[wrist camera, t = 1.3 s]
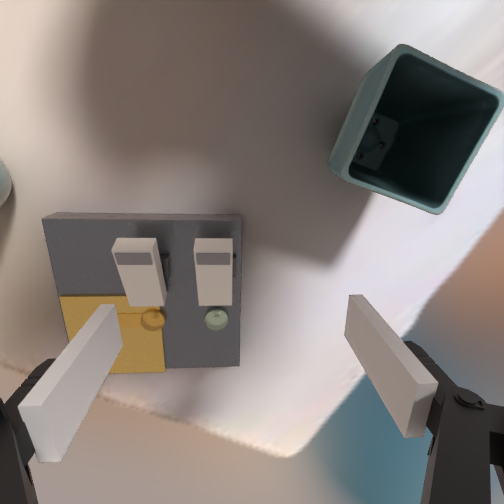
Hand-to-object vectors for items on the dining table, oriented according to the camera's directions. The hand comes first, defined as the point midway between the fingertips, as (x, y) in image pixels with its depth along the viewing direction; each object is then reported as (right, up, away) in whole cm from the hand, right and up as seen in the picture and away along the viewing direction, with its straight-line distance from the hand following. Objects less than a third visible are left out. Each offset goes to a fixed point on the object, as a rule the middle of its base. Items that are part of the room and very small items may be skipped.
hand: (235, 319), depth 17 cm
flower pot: (+12, +15, +12) cm, 22 cm away
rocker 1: (-9, +2, +10) cm, 13 cm away
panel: (-9, 0, +16) cm, 18 cm away
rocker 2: (-2, +2, +10) cm, 11 cm away
